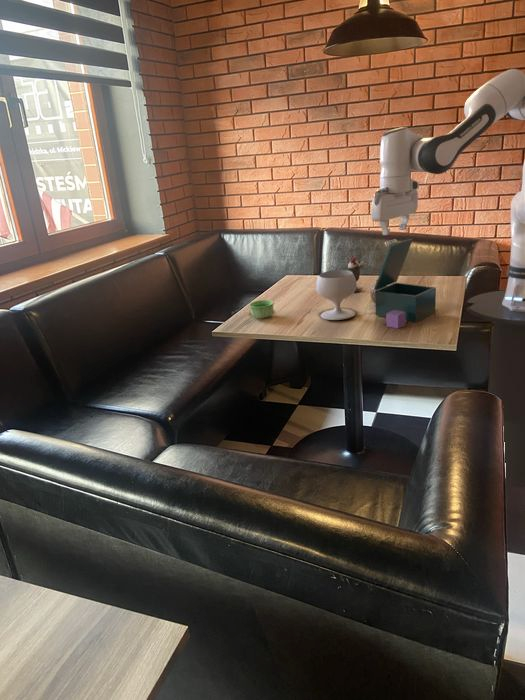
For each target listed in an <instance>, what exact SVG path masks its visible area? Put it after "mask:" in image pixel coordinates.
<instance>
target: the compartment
mask: <svg viewBox="0 0 525 700" xmlns="http://www.w3.org/2000/svg"><path fill="white" fill-rule="evenodd" d="M436 299H437V287H434V286H428V285H420V284H411V283H403V282H395V283H392V284H390V285H387V286H386V287H384V288H381V289H379V290H376V291H375V302H376V304H375V316H378V317H383V318H386V313H388V312H391V311H393V310H397V311H403V312H406V322H411V323H418V322H420V321H422V320H424V319H426V318H428V317H429V316H431V315H433V314H435V313H436V302H437V301H436Z"/></svg>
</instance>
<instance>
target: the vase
mask: <svg viewBox="0 0 525 700" xmlns="http://www.w3.org/2000/svg"><path fill="white" fill-rule="evenodd" d="M377 280H378V278H377V279H376V280H375V282H374V283H373V284H372V286H371V288H370V294H369V296H370V300H371V301H372V303H374V305H376V302H375V291H376V290H375V286H376V283H377ZM385 287H386V286H385ZM382 288H384V287H382ZM380 289H381V288H380ZM378 290H379V289H378Z"/></svg>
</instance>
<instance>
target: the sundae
mask: <svg viewBox="0 0 525 700" xmlns="http://www.w3.org/2000/svg"><path fill="white" fill-rule="evenodd" d="M353 256H354V254H352V255H351V260H350V261H349V263H348V264H347V265H346V266H345V268H346V270H347V271H351V272H352V273H353V274H354V276H355V279H356V283H357V282H358V281H359V280H360V277H361V268H363V265H362V264H361V261H360V260H358V259H356V258H355V257H353ZM361 290H362V289H361V288H358V287H357V288H356V290H355V292H354V293H358V292H361Z"/></svg>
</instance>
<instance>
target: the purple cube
mask: <svg viewBox="0 0 525 700" xmlns="http://www.w3.org/2000/svg"><path fill="white" fill-rule="evenodd" d="M385 318H386V319H385V322H386V327H388V328H394V329H400V328H402V327H404V326H406V322H407V321H406V312H403V311H397V310H393V311H391V312H388V313H386V317H385Z"/></svg>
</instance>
